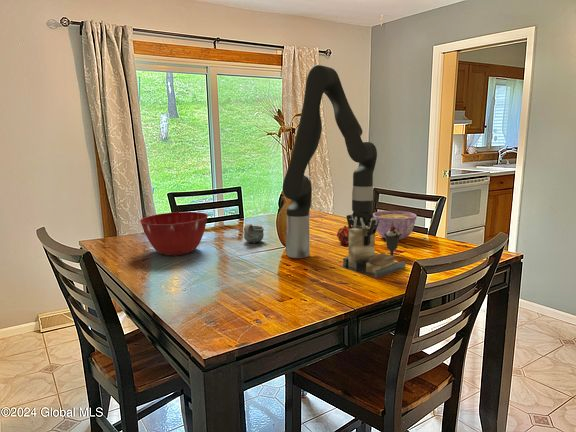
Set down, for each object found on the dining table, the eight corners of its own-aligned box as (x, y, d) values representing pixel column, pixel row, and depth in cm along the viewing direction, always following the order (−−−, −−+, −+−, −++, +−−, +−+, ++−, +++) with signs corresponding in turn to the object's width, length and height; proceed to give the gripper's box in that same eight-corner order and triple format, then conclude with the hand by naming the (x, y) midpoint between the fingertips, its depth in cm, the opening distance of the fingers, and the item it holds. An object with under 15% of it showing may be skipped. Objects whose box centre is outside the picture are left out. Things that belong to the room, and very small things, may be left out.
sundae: (388, 262, 162) (389, 224, 159) (380, 257, 169) (381, 221, 166) (403, 260, 164) (404, 223, 161) (394, 256, 170) (396, 220, 167)
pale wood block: (348, 266, 153) (348, 229, 151) (368, 260, 160) (368, 224, 157) (354, 268, 151) (355, 230, 148) (374, 262, 158) (375, 225, 155)
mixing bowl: (128, 256, 177) (124, 220, 174) (175, 240, 202) (172, 209, 199) (179, 264, 164) (176, 226, 161) (222, 247, 189) (221, 213, 186)
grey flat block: (366, 271, 148) (366, 263, 147) (384, 265, 154) (384, 257, 153) (379, 275, 143) (380, 267, 142) (397, 269, 149) (398, 261, 149)
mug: (266, 240, 200) (266, 219, 198) (259, 246, 188) (259, 225, 186) (247, 239, 202) (246, 219, 200) (239, 246, 190) (238, 224, 188)
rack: (339, 270, 154) (339, 258, 153) (368, 261, 163) (368, 250, 163) (376, 282, 141) (376, 269, 140) (405, 272, 150) (405, 260, 150)
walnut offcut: (369, 263, 146) (369, 258, 146) (381, 258, 152) (381, 253, 151) (382, 266, 143) (382, 261, 142) (393, 261, 148) (394, 255, 148)
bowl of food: (421, 243, 189) (422, 218, 187) (376, 244, 189) (377, 219, 187) (409, 233, 208) (410, 210, 206) (369, 233, 209) (369, 211, 207)
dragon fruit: (349, 243, 198) (346, 253, 187) (335, 232, 198) (331, 242, 187) (360, 229, 195) (357, 239, 184) (345, 219, 195) (341, 228, 184)
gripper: (340, 197, 154) (340, 242, 157) (371, 201, 143) (370, 250, 146) (354, 195, 159) (354, 239, 162) (385, 199, 148) (383, 246, 151)
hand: (361, 244), depth 154 cm, fingers open, 4 cm apart
